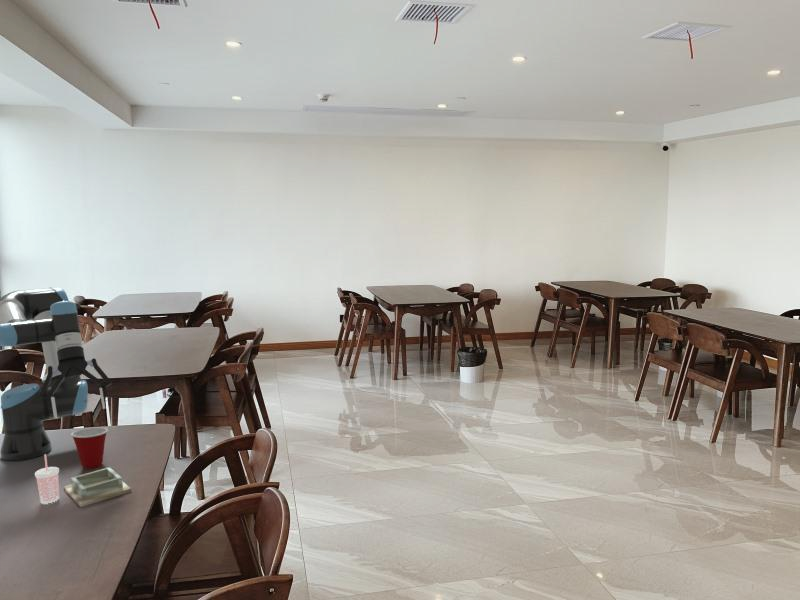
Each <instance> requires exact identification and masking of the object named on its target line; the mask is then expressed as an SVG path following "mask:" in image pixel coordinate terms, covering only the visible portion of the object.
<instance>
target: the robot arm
mask: <svg viewBox="0 0 800 600" xmlns="http://www.w3.org/2000/svg"><path fill="white" fill-rule="evenodd" d="M78 313H79V312H78V309H77V305H76V303H75V302H74V301H70V300H69V297H68V295H67V292H66V291H65V290H64V289H63V288H61V287H48V288H39V289H37V288H35V289H34V288H33V289H24V290H23V289H21V290H20V289H19V290H14V291H11V292H9V293H7V294H5V295H2V296H1V297H0V347H3V348H4V347H15V346H22V345H23V346H24V345H31V344H38V343H41V346H42V351H43V357H44V361H45V367H46V373H47V375H46V377H45V380H44V383H43V384H42V386H41V387H40V384H38V383H26V384H21V385H18V386H14V387H12V388H10V389H8V390H5V391H4V392H2V394H1V396H0V409H1V413H2V421H3V422H2V424H3V432H4V433H3V434H4V436H3V438H2V442H1V447H0V458H1V460H3V459H4V461H13V462H15V461H24V460H29V459H34V458H37V457H41V456H42V455H43V456H44V454H47V453H48V452H50V451H51V450H52V441H51V440H50V437H49V436H48V434H47V432H46V429H45V427H44V421H47V420H52V419H54V420H56V419H58V418H64V417H71V416H76V415H78V414H82V413H85V412H86V410H87V408H88V400H89V399H88V396H89V394H88V391H89V389H88V382H87V380H83V379H82V378H81V376H82V375H83V376H85V377H86V378H88V379H89V380H91V381H92V382H93V383H94V384H96V385H97V386H98V387H99V395H100V400H101V401H100V402H101V407H102V410H105V409H106V403H105V399H106V398H108V392H107V387H108V386H110V385H112V381H111V379H110V378H109V377H108V375H107V374H106V373H105V372H104V371H103V370H102V368H101V367H100V366H99V365H98V361H97V358H92V359H90V360H86V357H85V351H84V347H83V339H82V333H81V328H80V321H79V315H78ZM88 365H89V366H90V367H93V368H94V370H95V371H96V372H97V374H98V375H99V376H100V377H101V378H102V380H103V381H104V382H103V381H102V380H101V379H99V378H97V377H96V376H95V375H94V374H92V373H91V372H90V371H88V370H87V367H88Z"/></svg>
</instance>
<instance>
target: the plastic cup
mask: <svg viewBox="0 0 800 600" xmlns="http://www.w3.org/2000/svg"><path fill="white" fill-rule="evenodd" d="M108 431H109V430H108V428H106V427H100V426H99V427H87V428H83V429H78V430H75V431H73V432H71V434H70V435H71V437H72V438H73V441H74V444H75V447H76V450H77V454H78V458H79V460H80V463H81V467H82V468H83V469H84V470H92V469H93V468H94V469H97V468H99V466H100V467H101V466H102V465H103V463H104V462H103V459H104V452H105V451H104V450H105V443H106V438H107V437H106V436H107V433H108Z"/></svg>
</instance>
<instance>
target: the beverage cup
mask: <svg viewBox="0 0 800 600" xmlns="http://www.w3.org/2000/svg"><path fill="white" fill-rule="evenodd" d="M43 456H44V457H43V458H44V463H45V464H44V466H45V467H43V468H40V469H38V470H37V471H35V472H34V477H35V478H36V483H37V489H38V495H39V500H40V504H42V505H49V504H48V503H51V504H53V503H52V502H54V503H56V502H58V501H59V500H60V487H59V485H60V484H59V483H60V481H59V480H60V479H59V472H60V468H59V467H57V466H48V459H47V453H45V454H43ZM58 499H59V500H58ZM57 500H58V501H57ZM55 501H56V502H55Z"/></svg>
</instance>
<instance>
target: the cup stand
mask: <svg viewBox="0 0 800 600" xmlns="http://www.w3.org/2000/svg"><path fill="white" fill-rule="evenodd" d="M63 490H64V491H65V492H66V493H67V495H68V496H71V497H72V498H73V499H74V500H75V501H74V500H73V499H72V498H71V497H70V498H71V499H72V500H73V501H74V502H75V504H76V505H78V507H79V506H80V507H79V508H84V507H86V506H90V505H92V504H96V503H99V502H102V501H106V500H108V499H111V498H112V499H113V498H115V497H118V496H121V495H124V494H128V493H131V492H132V487H130V486H129V485H127V483H126V482H124V481H123V478H122V476H121V475H119V474H118V472H116V471H115V470H114V469H112V468H111V467H110V466H109V467H105V468H102V469H97V470H95V471H91V472H88V473H84V474H79V475H76V476H73V477H70V484H67V485H65V486H63Z"/></svg>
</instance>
